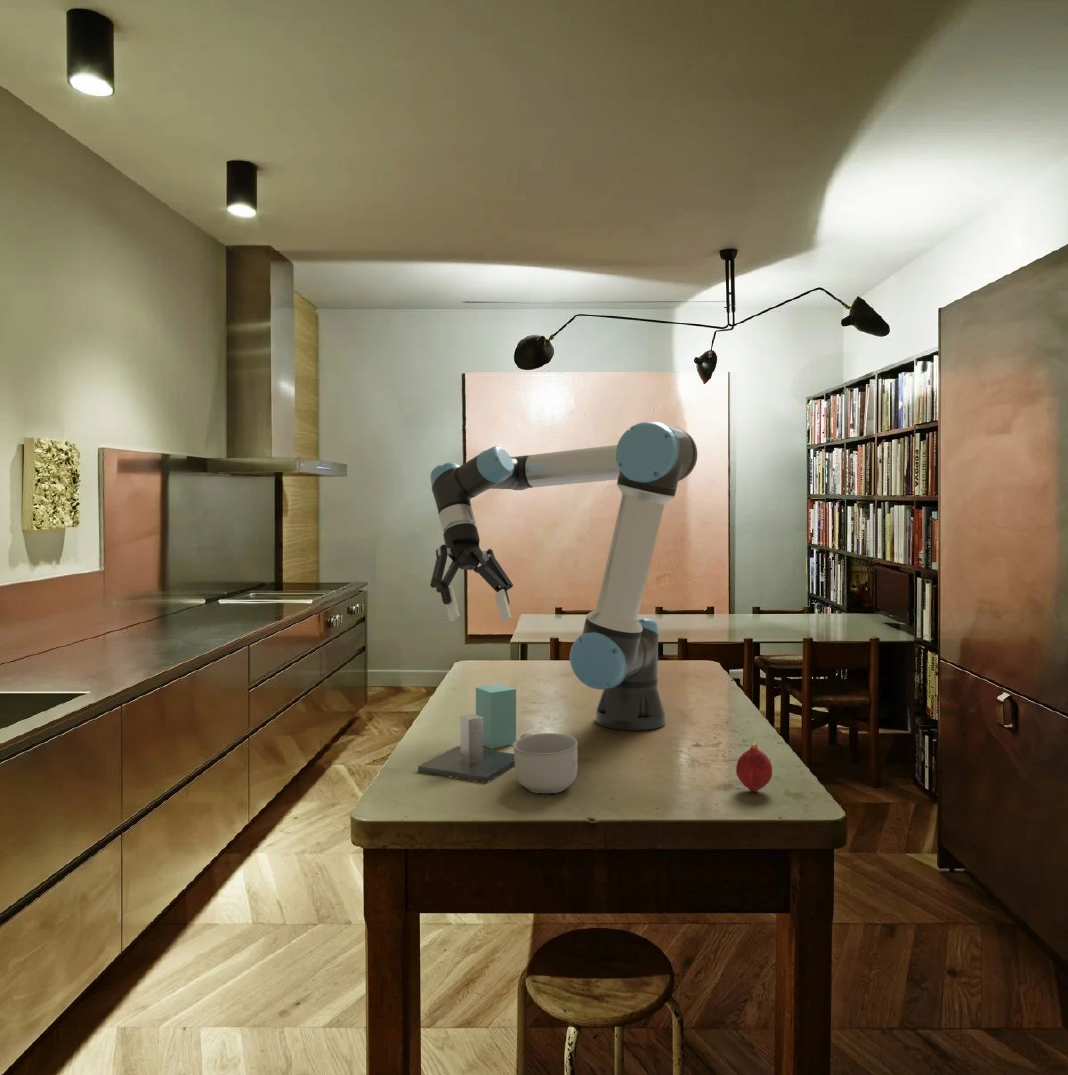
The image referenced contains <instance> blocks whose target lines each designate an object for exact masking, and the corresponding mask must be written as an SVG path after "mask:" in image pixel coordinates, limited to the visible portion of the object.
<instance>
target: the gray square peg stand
mask: <svg viewBox="0 0 1068 1075" xmlns="http://www.w3.org/2000/svg"><path fill="white" fill-rule="evenodd" d="M459 718H460V731H459V732H460V745H458V746H454V747H453V748H451V749H449V750H447V751H445V752H443V753H442V754H440V755H437V756H435V757H434V758H431V759H430V760H429V759H428V760H427V761H426V762H424V763H422V764H420V765H417V771H418V772H417V773H423V772H424V773H423V774H429V773H430V775H434V776H435V775H436V776H442V777H443V776H444V777H448V776H452V777H451V778H454V777H458V778H457V779H460V778H464V779H463V780H466V779H470V780H469V781H473V780H477V781H476V782H479V781H484V782H483V783H485V782H488V781H490V780H491V779H493V778H494V777H496V776H498V777H499V776H501V775H503V774H504V773H505V771H506V770H507V771H509V770H510V769H512V768H514V767H515V760H514V753H511V752H506V751H505V752H504V751H497V750H492V749H490V750H489V749H484V745H483V717H481V716H478V715H476V713H473V714H467V715H461V716H460V717H459ZM513 766H514V767H513ZM509 768H510V769H509ZM508 769H509V770H508ZM507 771H506V772H507ZM503 772H504V773H503ZM500 774H501V775H500ZM496 778H497V777H496ZM494 779H495V778H494ZM494 779H493V780H494ZM491 781H492V780H491ZM491 781H490V782H491ZM488 783H489V782H488Z"/></svg>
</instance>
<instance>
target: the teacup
mask: <svg viewBox="0 0 1068 1075" xmlns="http://www.w3.org/2000/svg"><path fill="white" fill-rule="evenodd" d="M578 745H579V744H578V739H576V738H575V737H573V736H571V735H567V734H564V733H563V734H562V733H554V732H553V733H551V732H550V733H549V732H547V733H545V732H544V733H535V734H531V733H529V732H526V733H522V734H521V735H520V738H518V739H516V741H515V742H514V744H513V745H512V748H513V754H514V760H515V766H514V770H515V771H514V772H515V775H516V779H517V781H518V782H519V783H520V784H521V786H523V787H524V788H526V790H528V791H529V792H531V791H532V792H531V793H533V792H534V794H537V793H554V794H558V793H562V792H563V791H566V789H568V787H569V786H570V785H572V783H574V782H575V780H576V777H577V774H578V761H579V760H578V757H579V756H578Z"/></svg>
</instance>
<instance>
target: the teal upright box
mask: <svg viewBox="0 0 1068 1075" xmlns="http://www.w3.org/2000/svg"><path fill="white" fill-rule="evenodd" d="M475 714H476V715H478V716H481V717H483V746H484V745H485V746H484V747H486V748H488V749H490V750H493V749H498V748H502V747H508V745H509V746H513V745H512V744H514V742H515V741H516V740H517V689H516V688H514V687H511V686H507V685H505V684H503V683H502V684H501V683H499V684H491V685H484V686H476V687H475Z"/></svg>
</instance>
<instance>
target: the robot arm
mask: <svg viewBox="0 0 1068 1075" xmlns="http://www.w3.org/2000/svg"><path fill="white" fill-rule="evenodd" d="M697 461H698V448H697V444H696V442H695V440H694V439H693V437H692V436H691V435H690V434H689V433H688V432H687V431H686V430H684V429H682V428H679V427H677V426H672V425H669V424H666V423H664V422H660V421H652V420H651V421H641V422H639V423H636V424H634V425H632V426H630V427H629V428H628V429H627V430H625V432H624V433H623V434H622V435H621V437H620V438H619V440H618V441H617V444H614V445H605V446H597V447H595V446H594V447H588V448H587V447H586V448H579V449H578V448H577V449H569V450H562V451H553V452H545V453H536V454H535V453H534V454H528V455H527V454H526V455H519V456H511V455H509V453H508V451H507V450H505V449H503V448H502V447H501V446H497V445H495V446H492V447H490V448H488V449H486V450H483V451H482V452H479V454H477V455H476V456H474V457H473V458H471V459H469V460H468V461H466V462H465V463H463V464H462V465H459V463H455V462H446V463H444V464H439V465H437V466H436V467H434V468H433V469H432V471H431V472H430V476H429V477H430V482H431V491H432V494H433V497H434V501H435V505H436V508H437V514H438V518H439V519H438V520H439V523H440V527H441V531H442V533H443V535H442V536H443V540H444V543H443V544H442V545H440V546H439V547H438V548H437V549H436V550H435V555H436V559H435V564H434V567H433V572H432V577H431V581H430V587H431V588H432V589H434V588H435V590H436V592H437V593H439V594H440V597H441V600H442V603H443V604H444V605H445V606H446V612H447V615H448V620H449V622H453V621H455V620H456V619H457V618H459V617H460V616H461V615H460V611H459V606H458V602H457V598H456V594H455V589H454V586H450V585H451V583H452V581H453V579H454V577H455V575H456V574H457V572H458V570H459V569H460V570H469V571H473V572H475V573H476V574H479V576H481V578H482V579H483V580H484V581H486V583H487V584H488V585H489V586H490V587H491V588H492V589H493V590H494V591H495V594H494V599H495V602H496V606H497V611H498V613H499V618H500V622H501V623H505V622H507V621H508V620H509V619H511V618H512V614H511V610H510V606H509V605H510V599H509V594H508V591H509V590H510V589H512V588H513V587H514V584H513V582H512V581H511V579H510V578H509V577H508V575H507V573H506V572H505V571H504V569H503V567H502V566H501V564H500V563H499V561H498V560H497V559H496V557H495V554H494V551H493V550H492V549H491V548H489V549H487V550H482V549H481V548H480V543H481V542H480V535H479V531H478V527H477V523H476V519H475V516H474V515H475V514H474V512H473V508H472V504H471V499H473V498H476V497H477V496H479V495H480V494H482V493H484V492H486V491H487V490H512V491H513V490H514V491H524V490H527V489H532V488H541V487H543V488H544V487H552V486H564V485H573V484H582V483H595V482H605V481H616V485H617V488H618V489H619V490H620V492H621V500H620V504H619V506H618V512H617V516H616V520H615V525H614V528H613V532H612V533H613V534H612V538H611V542H610V547H609V550H608V554H607V555H608V556H607V559H606V564H605V568H604V572H603V577H602V582H601V586H600V589H599V594H598V598H597V602H596V606H595V609H594V610H592V611H591V612H589V613H587V614H586V616H585V620H584V626H583V630H582V634H581V635H579V636H578V637H577V638H576V639H575V640H574V641H573V644H572V645H571V647H570V651H569V663H570V667H571V669H572V671H573V673H574V674H575V676H576V678H577V679H578V680H579V681H580V682H581V683H582V684H583V685H585V686H586V687H589V688H590V689H593V690H602V692H601V695H600V698H599V701H598V704H597V707H596V710H595V722H596V723H597V724H598V725H600V726H602V727H605V728H609V729H613V730H621V731H622V730H623V731H648V730H654V729H658V728H661V727H663V726H665V724H666V711H665V708H664V704H663V701H662V697H661V694H660V691H659V688H658V687H659V686H658V684H659V683H658V672H659V669H658V668H659V665H658V664H659V663H658V662H659V657H658V656H659V637H660V634H659V629H658V628H659V627H658V622H657V621H656V620H655V619H651V618H643V617H642V618H641V617H639V613H640V609H641V605H642V600H643V596H644V593H645V589H646V588H645V587H646V583H647V579H648V576H649V573H650V572H649V571H650V567H651V563H652V559H653V554H654V550H655V547H656V542H657V539H658V534H659V531H660V526H661V521H662V517H663V512H664V510H665V509H664V508H665V505H666V504H667V503H668V502H669V501H671V500H672V499H674V498H675V496H676V492H677V487H678V483H679V482H680V481H683V480H684V479H685V478H687V477H688V476H689V475H690V474H691V473H692V472H693V471H694V468H695V466H696V465H697ZM448 557H449V558H450V559H451V563H450V565H449V566H448V570H447V571H446V573H445V574H444V572H445V568H446V565H447V564H446V563H447V561H448V560H447V559H448ZM443 576H444V577H443Z"/></svg>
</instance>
